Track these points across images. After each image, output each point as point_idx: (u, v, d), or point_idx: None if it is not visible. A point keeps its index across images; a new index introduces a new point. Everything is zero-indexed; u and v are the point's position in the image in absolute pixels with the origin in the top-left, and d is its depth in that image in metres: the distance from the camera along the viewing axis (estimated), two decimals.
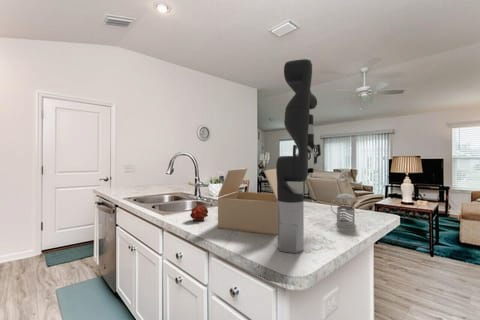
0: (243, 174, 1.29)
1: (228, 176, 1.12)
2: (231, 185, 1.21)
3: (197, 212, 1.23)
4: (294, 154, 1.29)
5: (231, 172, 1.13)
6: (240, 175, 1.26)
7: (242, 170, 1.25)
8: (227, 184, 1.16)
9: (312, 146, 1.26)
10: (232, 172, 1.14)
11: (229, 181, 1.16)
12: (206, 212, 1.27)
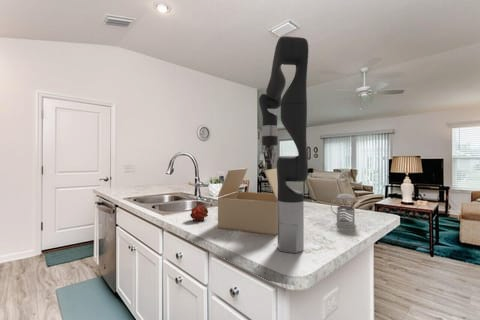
0: (243, 174, 1.29)
1: (228, 176, 1.12)
2: (231, 185, 1.21)
3: (197, 212, 1.23)
4: (270, 161, 1.13)
5: (231, 172, 1.13)
6: (240, 175, 1.26)
7: (242, 170, 1.25)
8: (227, 184, 1.16)
9: None
10: (232, 172, 1.14)
11: (229, 181, 1.16)
12: (206, 212, 1.27)
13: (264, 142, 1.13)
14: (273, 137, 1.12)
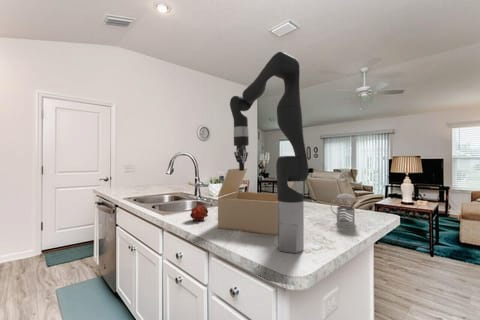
0: (243, 174, 1.29)
1: (228, 176, 1.12)
2: (231, 185, 1.21)
3: (197, 212, 1.23)
4: (242, 160, 1.19)
5: (230, 172, 1.13)
6: (240, 175, 1.26)
7: None
8: (227, 184, 1.16)
9: (245, 152, 1.23)
10: (231, 172, 1.14)
11: (229, 181, 1.16)
12: (206, 212, 1.27)
13: (235, 142, 1.19)
14: (243, 137, 1.18)
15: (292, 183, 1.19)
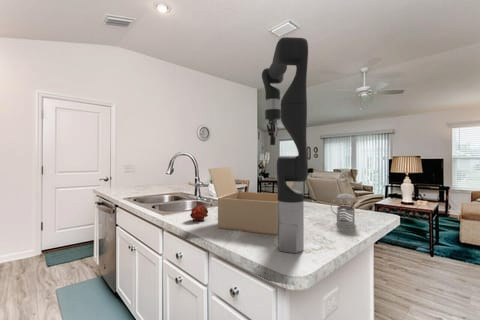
0: (230, 173, 1.32)
1: (213, 175, 1.15)
2: (224, 184, 1.22)
3: (197, 212, 1.23)
4: (274, 133, 1.15)
5: (213, 171, 1.16)
6: (227, 174, 1.29)
7: (225, 169, 1.29)
8: (219, 183, 1.18)
9: None
10: (214, 171, 1.17)
11: (218, 180, 1.18)
12: (206, 212, 1.27)
13: (267, 115, 1.15)
14: (276, 110, 1.14)
15: (292, 183, 1.19)
